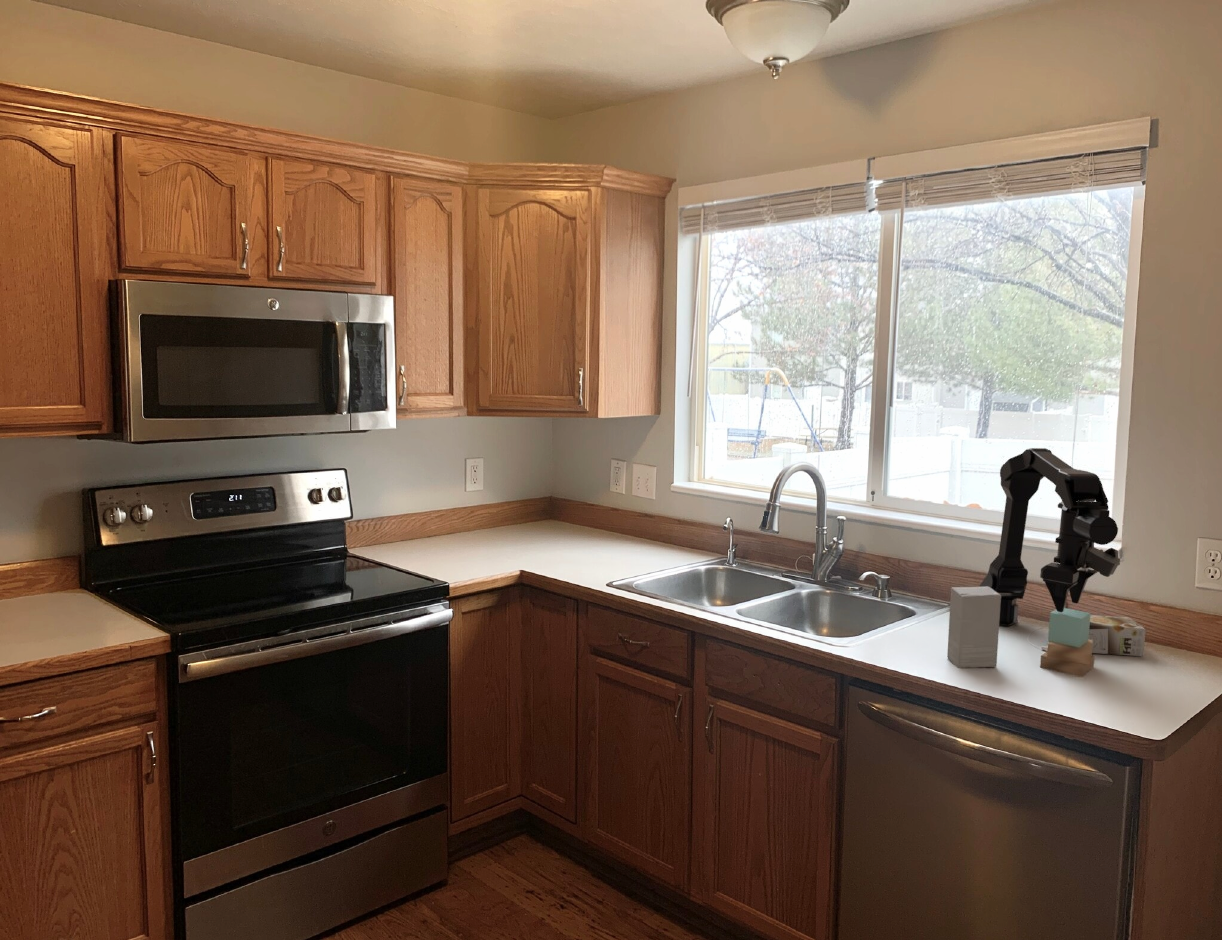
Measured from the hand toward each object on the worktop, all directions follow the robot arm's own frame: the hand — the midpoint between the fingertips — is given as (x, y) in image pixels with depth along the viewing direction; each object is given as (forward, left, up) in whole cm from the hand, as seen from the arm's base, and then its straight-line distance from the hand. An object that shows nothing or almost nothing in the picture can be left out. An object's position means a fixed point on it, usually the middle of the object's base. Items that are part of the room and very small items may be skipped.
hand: (1067, 607), depth 195 cm
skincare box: (-13, -15, -12) cm, 23 cm away
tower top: (+2, -3, -9) cm, 10 cm away
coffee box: (+8, +21, -9) cm, 24 cm away
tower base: (+2, -3, -12) cm, 13 cm away
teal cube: (+1, -3, -6) cm, 7 cm away
